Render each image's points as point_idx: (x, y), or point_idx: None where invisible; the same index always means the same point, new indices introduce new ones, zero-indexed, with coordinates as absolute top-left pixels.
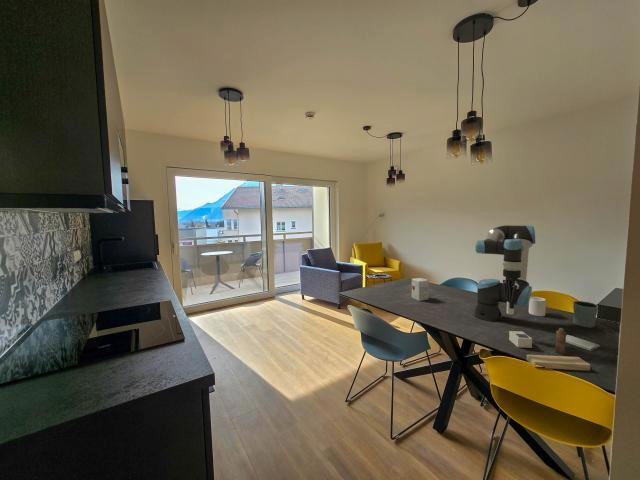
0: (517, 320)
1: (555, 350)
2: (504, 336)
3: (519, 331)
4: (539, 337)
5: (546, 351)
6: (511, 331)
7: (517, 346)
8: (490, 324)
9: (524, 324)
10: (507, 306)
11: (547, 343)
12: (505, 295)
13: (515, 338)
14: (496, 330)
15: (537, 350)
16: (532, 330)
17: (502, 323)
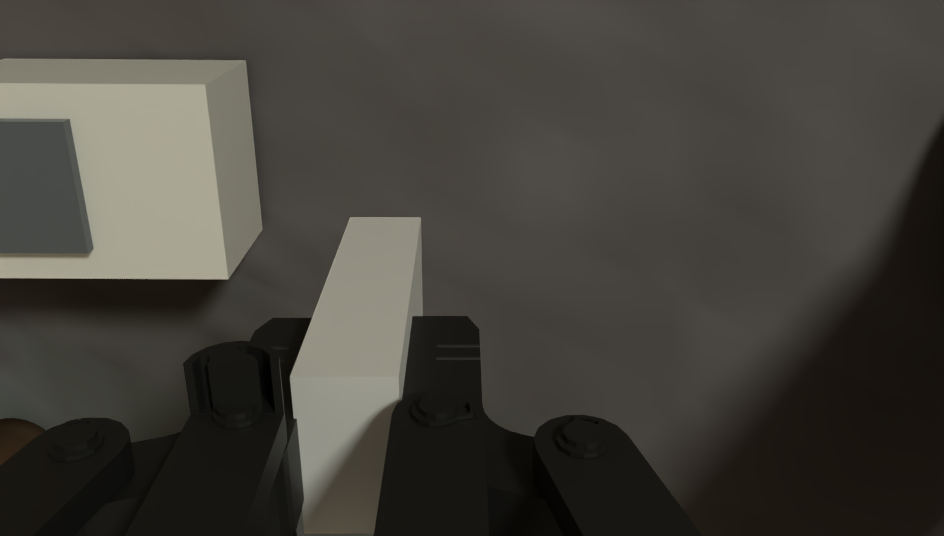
0: (929, 484)
1: (7, 432)
2: (370, 53)
3: (218, 236)
4: None
5: (14, 345)
6: (191, 110)
7: (8, 59)
8: (827, 46)
9: (790, 498)
10: (371, 293)
11: None
12: (571, 499)
13: (24, 76)
14: (586, 34)
15: None
16: None
17: (849, 249)
